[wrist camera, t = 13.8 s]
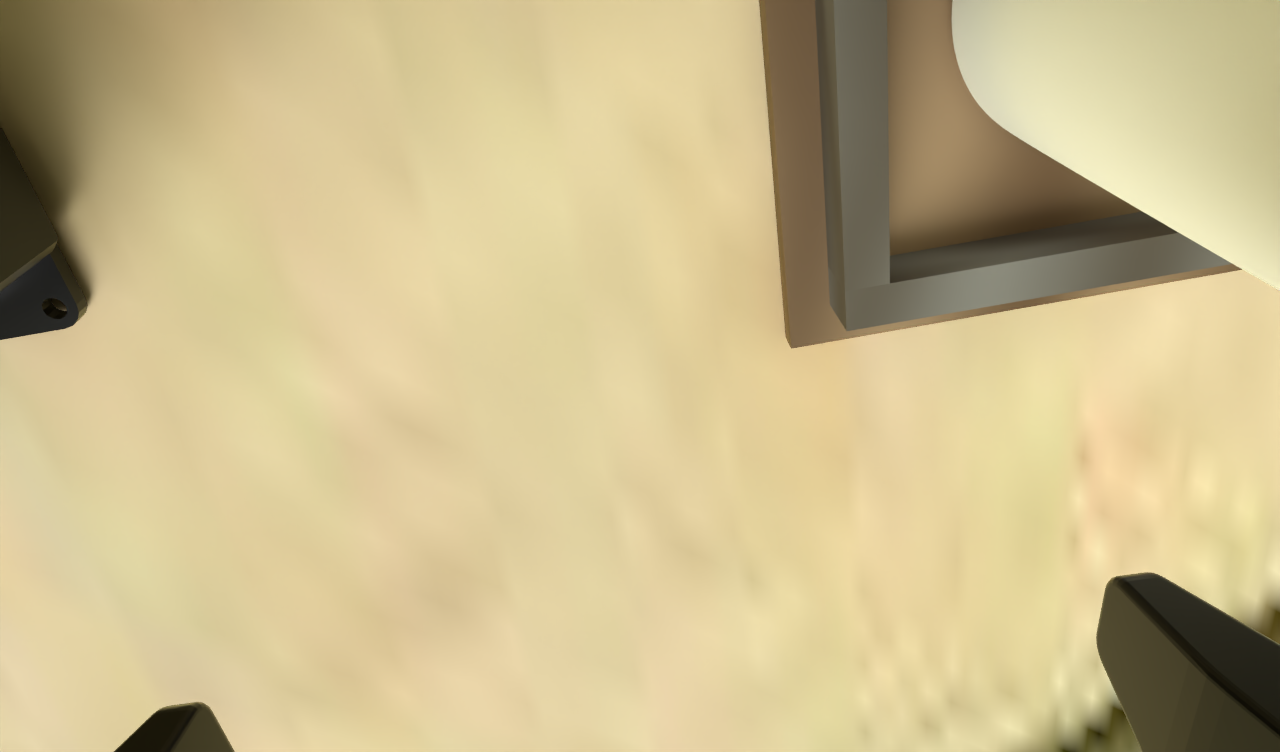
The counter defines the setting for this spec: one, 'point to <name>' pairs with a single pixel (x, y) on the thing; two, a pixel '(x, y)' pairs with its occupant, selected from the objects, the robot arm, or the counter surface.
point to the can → (1145, 105)
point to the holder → (926, 185)
